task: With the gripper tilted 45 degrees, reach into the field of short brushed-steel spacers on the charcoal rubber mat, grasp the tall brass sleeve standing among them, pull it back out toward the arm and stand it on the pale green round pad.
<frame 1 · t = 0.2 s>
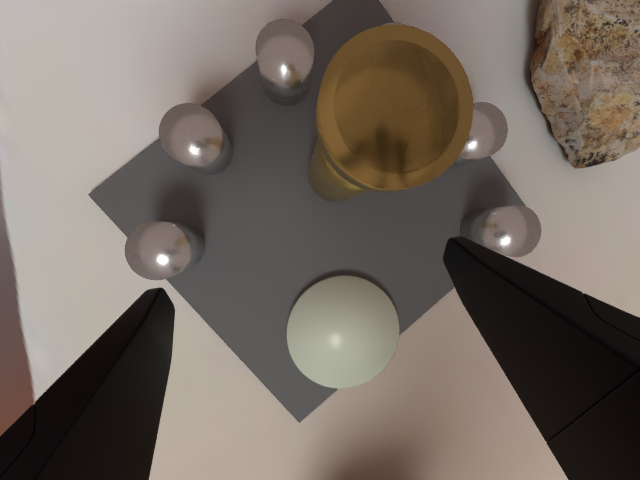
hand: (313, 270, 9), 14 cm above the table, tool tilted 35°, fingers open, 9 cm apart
brass sleeve: (335, 173, 23), resting on mat
spacers: (334, 174, 23), resting on mat
pad: (342, 330, 23), resting on mat
mat: (329, 207, 23), on the table
stone: (565, 44, 25), on the table
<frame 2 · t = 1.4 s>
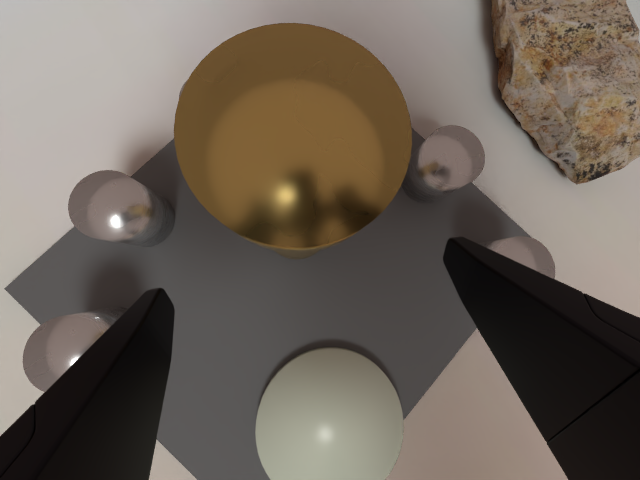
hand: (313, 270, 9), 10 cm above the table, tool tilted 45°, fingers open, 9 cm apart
brass sleeve: (296, 226, 19), resting on mat
spacers: (296, 227, 20), resting on mat
pad: (329, 421, 18), resting on mat
mat: (294, 266, 20), on the table
stone: (531, 60, 24), on the table
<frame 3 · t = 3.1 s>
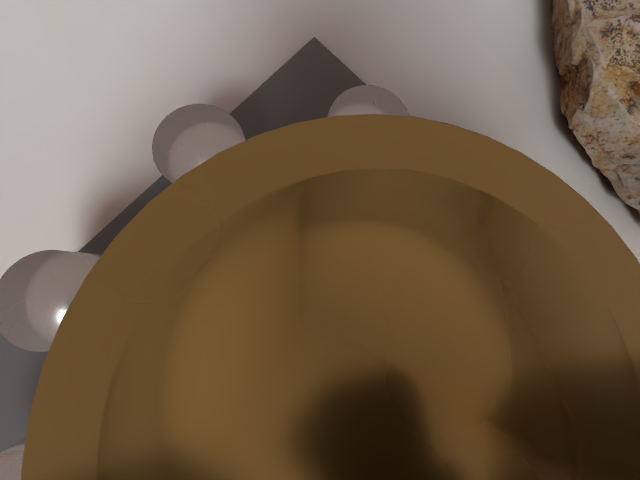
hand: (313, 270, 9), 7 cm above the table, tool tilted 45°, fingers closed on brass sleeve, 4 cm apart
brass sleeve: (310, 298, 15), resting on mat, touching gripper
spacers: (310, 297, 16), resting on mat
mat: (307, 348, 15), on the table
stone: (598, 77, 19), on the table
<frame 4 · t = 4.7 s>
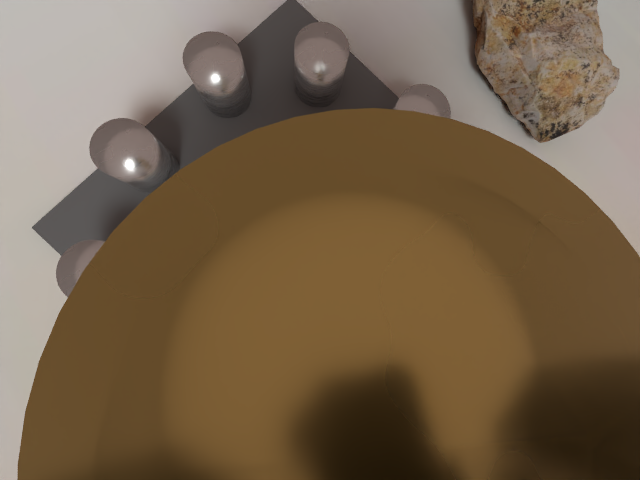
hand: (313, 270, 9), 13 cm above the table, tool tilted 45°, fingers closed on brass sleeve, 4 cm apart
brass sleeve: (310, 297, 15), point 7 cm above the table, touching gripper
spacers: (287, 179, 22), resting on mat
mat: (285, 212, 22), on the table
stone: (507, 31, 26), on the table
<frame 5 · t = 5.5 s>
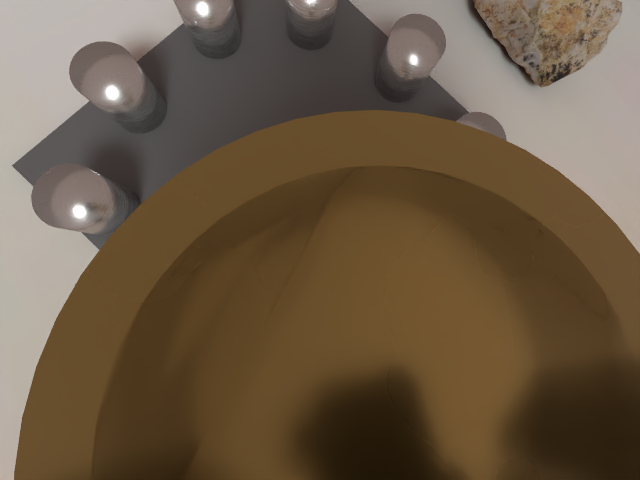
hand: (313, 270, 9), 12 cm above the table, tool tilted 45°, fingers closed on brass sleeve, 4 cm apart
brass sleeve: (310, 298, 15), point 6 cm above the table, touching gripper
spacers: (278, 122, 22), resting on mat
mat: (276, 156, 21), on the table
when the fingers open (8 cm above the table, at t = 6.4 s): brass sleeve drops 1 cm, resting on pad.
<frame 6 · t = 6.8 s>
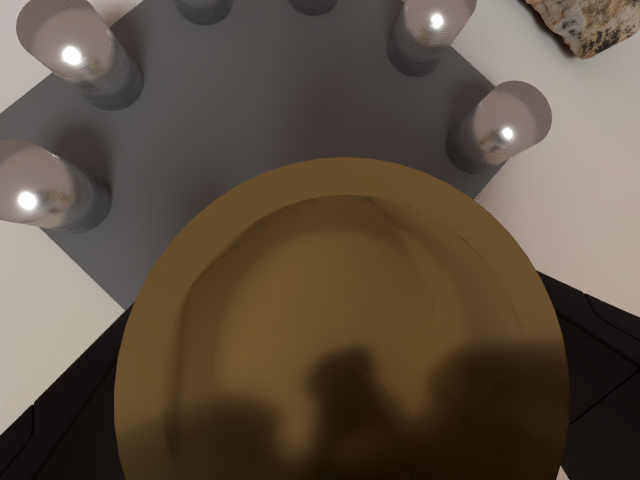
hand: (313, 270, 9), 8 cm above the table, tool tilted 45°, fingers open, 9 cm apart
brass sleeve: (310, 297, 16), point 1 cm above the table, touching pad
spacers: (276, 99, 19), resting on mat
mat: (273, 138, 18), on the table
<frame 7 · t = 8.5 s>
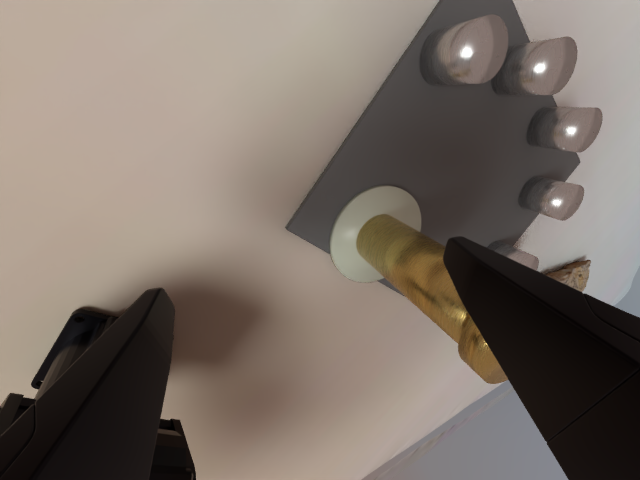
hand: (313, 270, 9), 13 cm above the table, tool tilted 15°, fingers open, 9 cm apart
brass sleeve: (378, 238, 25), point 1 cm above the table, touching pad
spacers: (479, 184, 29), resting on mat
pad: (375, 235, 26), resting on mat
mat: (459, 188, 28), on the table
stone: (525, 296, 43), on the table
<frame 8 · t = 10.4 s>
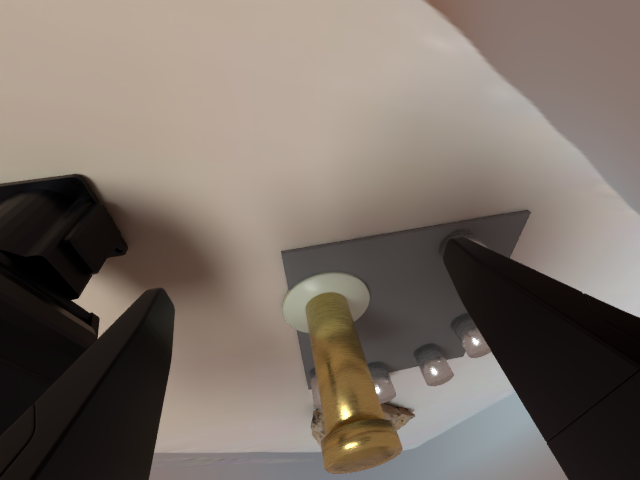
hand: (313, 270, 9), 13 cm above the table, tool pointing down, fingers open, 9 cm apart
brass sleeve: (326, 306, 30), point 1 cm above the table, touching pad
spacers: (407, 323, 36), resting on mat
pad: (325, 302, 30), resting on mat
mat: (395, 316, 35), on the table
stone: (362, 407, 51), on the table
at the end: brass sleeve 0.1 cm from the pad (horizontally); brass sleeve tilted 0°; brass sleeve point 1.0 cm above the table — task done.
